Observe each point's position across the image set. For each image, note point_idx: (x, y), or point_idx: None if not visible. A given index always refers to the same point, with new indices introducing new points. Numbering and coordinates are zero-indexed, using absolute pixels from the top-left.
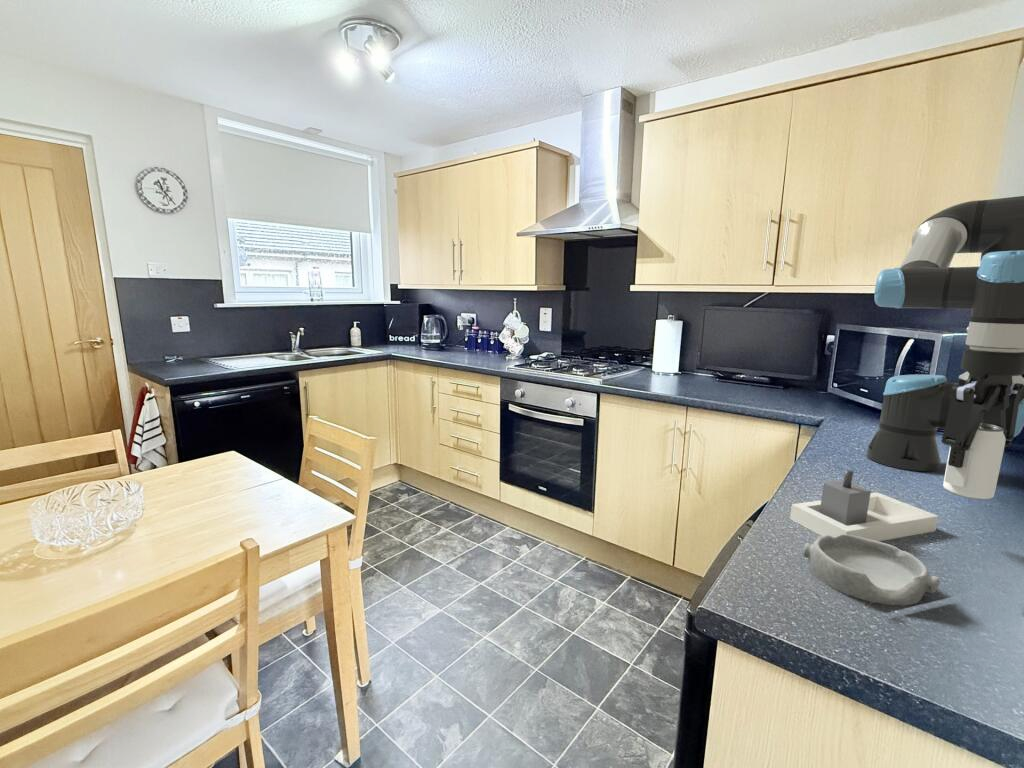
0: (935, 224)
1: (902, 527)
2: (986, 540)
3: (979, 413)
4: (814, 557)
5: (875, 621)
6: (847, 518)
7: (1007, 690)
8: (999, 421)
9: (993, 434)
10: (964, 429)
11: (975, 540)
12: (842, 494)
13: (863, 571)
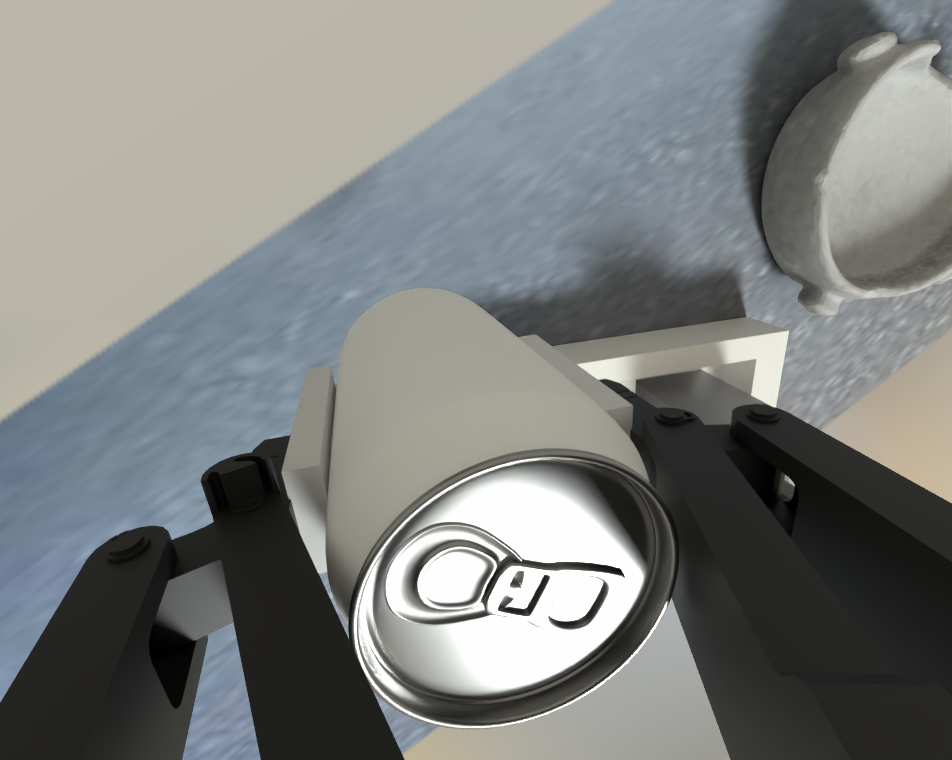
0: None
1: (576, 357)
2: (292, 310)
3: (866, 641)
4: None
5: None
6: (731, 388)
7: None
8: (349, 649)
9: (577, 438)
10: (862, 478)
11: (331, 315)
12: None
13: (851, 196)
